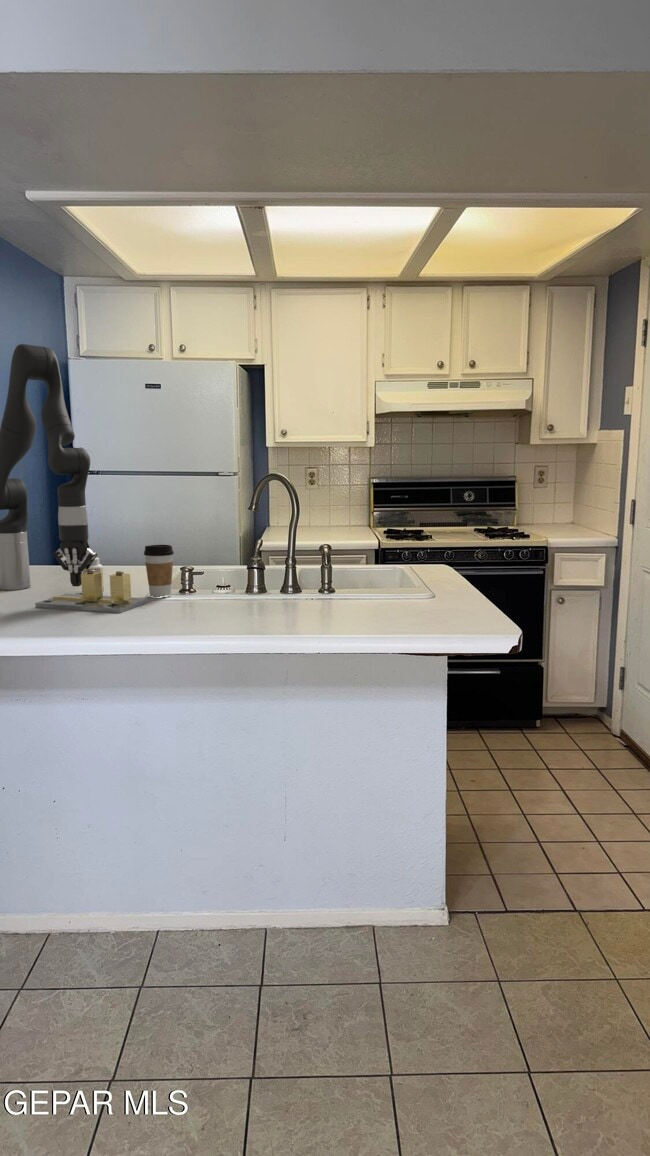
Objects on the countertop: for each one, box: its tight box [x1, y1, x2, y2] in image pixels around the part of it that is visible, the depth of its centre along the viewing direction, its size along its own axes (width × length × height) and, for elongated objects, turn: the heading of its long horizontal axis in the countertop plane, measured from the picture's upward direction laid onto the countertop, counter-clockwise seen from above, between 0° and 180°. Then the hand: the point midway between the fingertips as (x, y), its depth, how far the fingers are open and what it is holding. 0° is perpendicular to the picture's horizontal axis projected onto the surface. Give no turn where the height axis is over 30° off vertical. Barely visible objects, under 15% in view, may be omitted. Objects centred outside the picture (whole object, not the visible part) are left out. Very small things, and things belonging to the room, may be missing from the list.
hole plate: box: [34, 593, 149, 614], centre depth 210 cm, size 26×14×1 cm, turn 73°
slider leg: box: [81, 570, 104, 602], centre depth 208 cm, size 4×6×8 cm, turn 163°
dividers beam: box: [52, 570, 133, 605], centre depth 208 cm, size 24×6×8 cm, turn 73°
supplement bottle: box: [82, 557, 105, 593], centre depth 227 cm, size 6×6×10 cm
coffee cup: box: [143, 544, 175, 597], centre depth 221 cm, size 8×8×15 cm
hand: (76, 585), depth 210 cm, fingers closed
